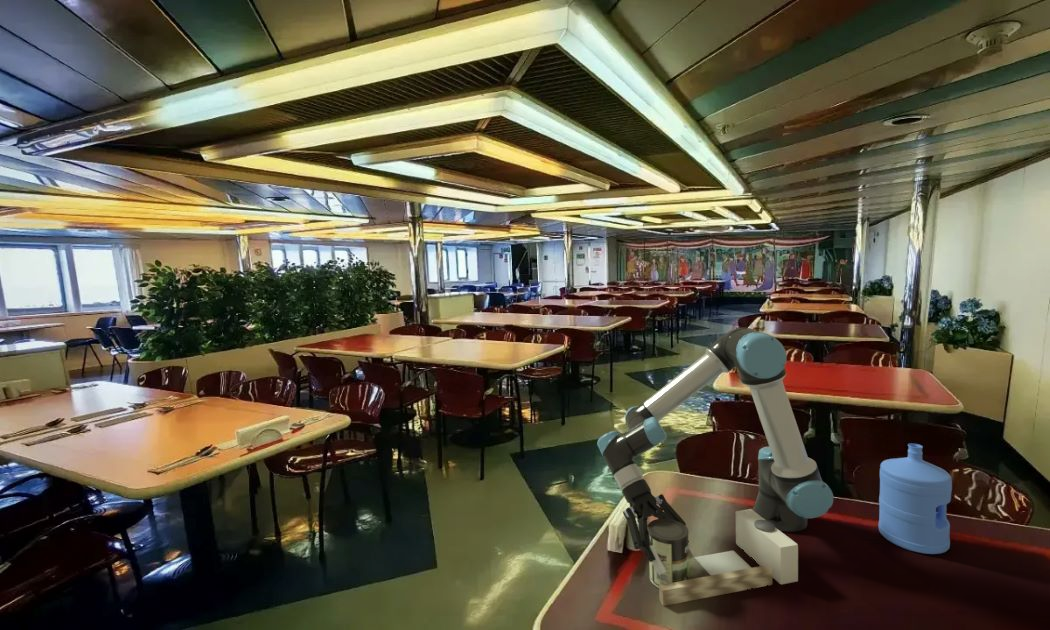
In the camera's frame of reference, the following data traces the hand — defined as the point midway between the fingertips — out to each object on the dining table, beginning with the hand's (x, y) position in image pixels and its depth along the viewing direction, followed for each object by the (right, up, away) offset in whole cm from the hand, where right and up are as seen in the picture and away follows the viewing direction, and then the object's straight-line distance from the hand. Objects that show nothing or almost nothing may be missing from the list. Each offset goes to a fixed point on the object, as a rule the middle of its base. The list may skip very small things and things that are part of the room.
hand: (677, 565), depth 117 cm
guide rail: (+9, -5, -3) cm, 11 cm away
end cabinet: (+19, -4, +7) cm, 21 cm away
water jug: (+73, 0, +14) cm, 74 cm away
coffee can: (-1, -6, +3) cm, 6 cm away
